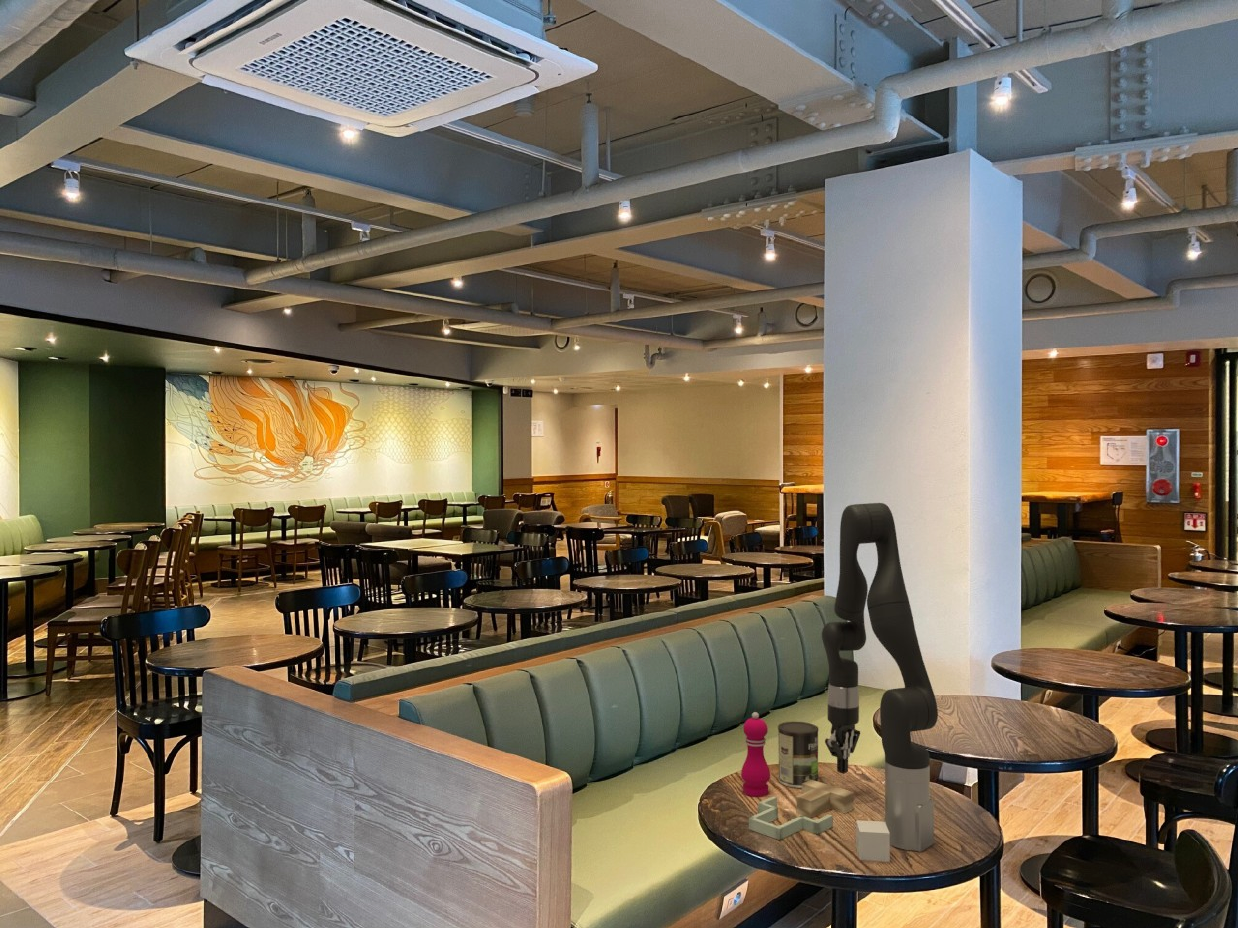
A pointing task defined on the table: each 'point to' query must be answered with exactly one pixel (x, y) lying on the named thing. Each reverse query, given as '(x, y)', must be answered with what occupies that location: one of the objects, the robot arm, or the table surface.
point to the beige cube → (872, 841)
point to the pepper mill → (755, 758)
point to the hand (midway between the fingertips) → (842, 771)
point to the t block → (823, 799)
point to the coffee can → (797, 753)
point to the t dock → (770, 813)
